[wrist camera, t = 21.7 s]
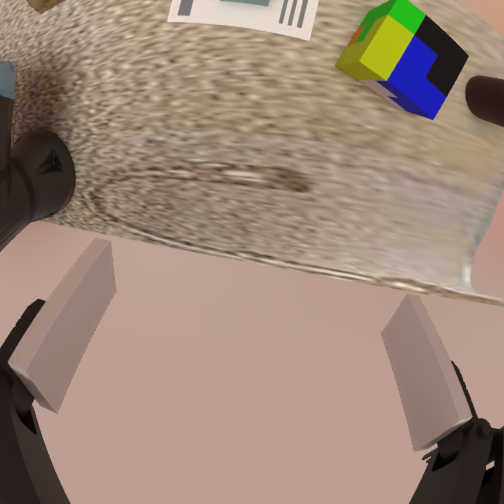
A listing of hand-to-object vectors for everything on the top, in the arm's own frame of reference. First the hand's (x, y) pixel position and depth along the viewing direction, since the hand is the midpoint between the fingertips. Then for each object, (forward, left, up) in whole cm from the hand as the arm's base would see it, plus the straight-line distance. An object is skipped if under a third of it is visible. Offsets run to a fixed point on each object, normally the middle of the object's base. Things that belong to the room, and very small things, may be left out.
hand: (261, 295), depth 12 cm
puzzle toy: (+8, +19, -29) cm, 36 cm away
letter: (-12, +19, -29) cm, 36 cm away
